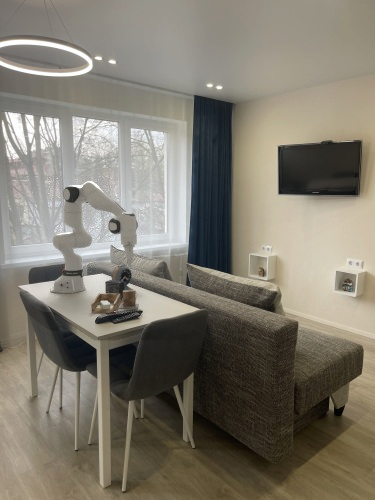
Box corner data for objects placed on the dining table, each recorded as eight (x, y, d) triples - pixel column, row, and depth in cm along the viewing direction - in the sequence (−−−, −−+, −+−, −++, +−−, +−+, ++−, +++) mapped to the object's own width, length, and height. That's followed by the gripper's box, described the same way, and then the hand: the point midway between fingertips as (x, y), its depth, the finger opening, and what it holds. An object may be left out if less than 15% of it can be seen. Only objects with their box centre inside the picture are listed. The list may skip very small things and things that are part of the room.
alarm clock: (118, 293, 240) (118, 267, 238) (108, 291, 246) (108, 265, 244) (134, 289, 252) (134, 264, 249) (124, 287, 258) (124, 262, 255)
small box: (125, 296, 233) (125, 280, 232) (120, 299, 227) (119, 283, 226) (110, 295, 237) (110, 279, 235) (105, 297, 231) (104, 281, 229)
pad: (119, 308, 210) (119, 308, 210) (121, 304, 218) (121, 303, 218) (137, 308, 210) (137, 308, 210) (138, 304, 218) (138, 303, 218)
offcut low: (95, 311, 205) (95, 307, 205) (98, 309, 209) (98, 305, 209) (111, 312, 204) (111, 308, 203) (113, 310, 208) (113, 306, 207)
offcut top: (100, 305, 209) (100, 301, 208) (107, 304, 211) (107, 300, 210) (103, 309, 202) (103, 304, 201) (110, 308, 203) (110, 304, 203)
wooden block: (123, 307, 211) (123, 291, 210) (122, 305, 214) (122, 290, 213) (135, 306, 214) (135, 291, 212) (134, 304, 216) (134, 289, 215)
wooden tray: (91, 312, 202) (91, 303, 201) (98, 301, 223) (98, 293, 222) (115, 312, 203) (115, 303, 202) (120, 301, 223) (120, 293, 223)
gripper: (135, 243, 199) (135, 268, 201) (133, 238, 218) (133, 261, 220) (124, 243, 197) (124, 268, 199) (122, 238, 217) (122, 261, 219)
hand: (129, 265), depth 210 cm, fingers open, 8 cm apart
